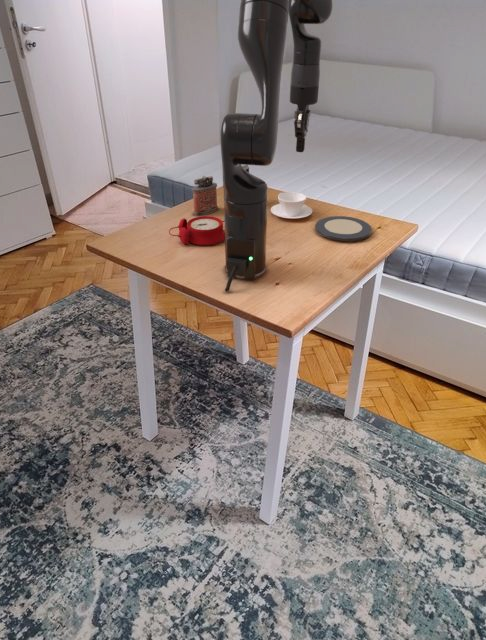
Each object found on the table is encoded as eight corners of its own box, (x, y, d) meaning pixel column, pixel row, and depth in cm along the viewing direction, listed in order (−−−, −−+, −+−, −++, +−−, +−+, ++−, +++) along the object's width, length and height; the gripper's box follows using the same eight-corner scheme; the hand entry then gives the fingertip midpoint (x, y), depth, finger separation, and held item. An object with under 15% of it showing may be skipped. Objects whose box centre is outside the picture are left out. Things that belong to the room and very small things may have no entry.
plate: (369, 246, 123) (370, 241, 122) (311, 239, 126) (311, 234, 125) (372, 223, 134) (373, 218, 134) (318, 218, 137) (319, 213, 136)
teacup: (289, 204, 146) (290, 186, 143) (320, 215, 139) (322, 196, 136) (261, 214, 139) (262, 196, 136) (293, 226, 132) (294, 207, 129)
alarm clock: (231, 231, 121) (171, 221, 117) (226, 254, 124) (168, 245, 120) (227, 215, 129) (171, 205, 125) (222, 237, 132) (168, 228, 129)
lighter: (212, 206, 144) (211, 172, 138) (220, 209, 142) (219, 175, 136) (191, 213, 139) (188, 178, 133) (198, 216, 137) (196, 181, 131)
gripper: (294, 78, 133) (291, 144, 144) (286, 86, 123) (282, 157, 133) (322, 79, 132) (316, 146, 142) (315, 88, 121) (309, 159, 132)
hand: (300, 151), depth 138 cm, fingers closed
